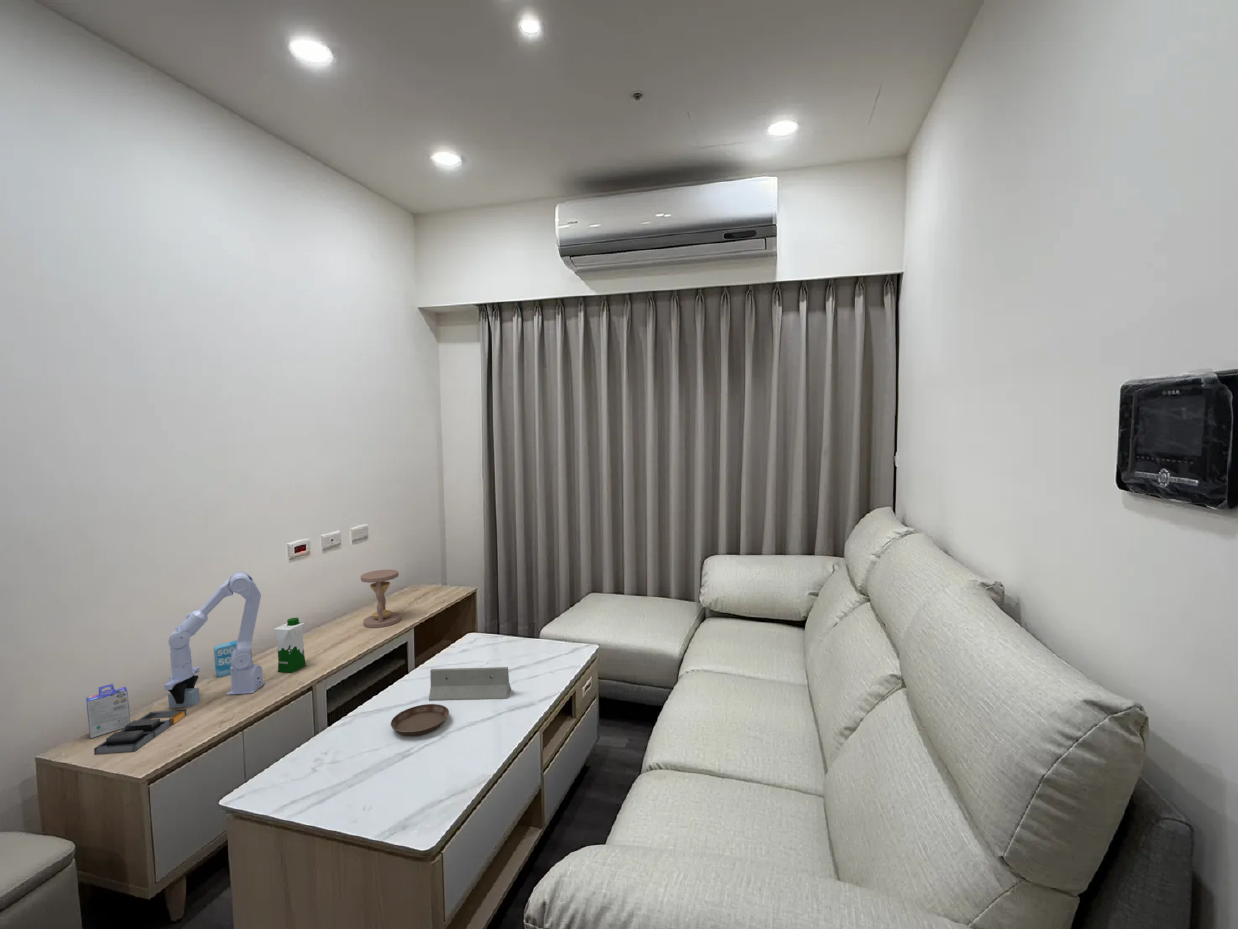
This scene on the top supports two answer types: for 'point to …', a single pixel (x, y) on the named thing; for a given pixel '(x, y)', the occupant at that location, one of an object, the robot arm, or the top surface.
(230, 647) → the data package
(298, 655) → the milk carton
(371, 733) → the top surface
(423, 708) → the plant saucer
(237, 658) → the robot arm
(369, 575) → the hourglass
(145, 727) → the grey tray
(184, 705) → the grey-blue rectangular block
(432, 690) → the barrier
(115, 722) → the ink cartridge box
